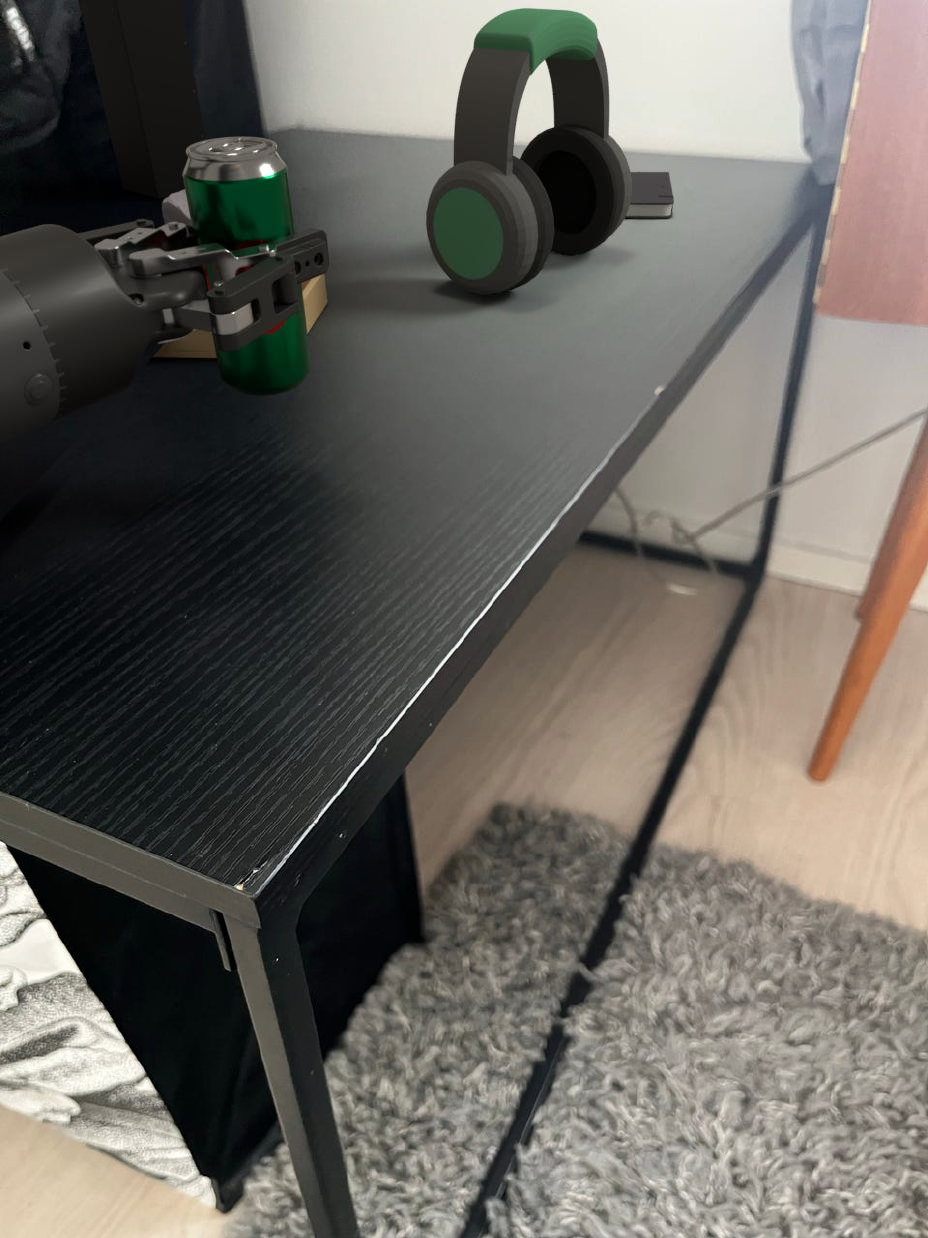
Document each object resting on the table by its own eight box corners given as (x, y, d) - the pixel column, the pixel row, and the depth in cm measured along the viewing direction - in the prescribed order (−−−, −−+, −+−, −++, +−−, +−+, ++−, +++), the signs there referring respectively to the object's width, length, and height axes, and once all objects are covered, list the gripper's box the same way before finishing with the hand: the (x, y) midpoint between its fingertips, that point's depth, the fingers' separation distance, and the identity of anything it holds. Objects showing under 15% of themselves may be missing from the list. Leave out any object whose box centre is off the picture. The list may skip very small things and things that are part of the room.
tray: (112, 356, 72) (102, 321, 71) (168, 299, 82) (161, 268, 80) (290, 360, 71) (285, 325, 69) (327, 302, 80) (324, 270, 79)
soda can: (331, 373, 53) (306, 141, 46) (270, 407, 50) (232, 162, 42) (265, 355, 55) (230, 130, 48) (202, 386, 52) (155, 150, 45)
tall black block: (158, 200, 108) (91, -109, 90) (121, 189, 112) (51, -107, 94) (215, 186, 112) (162, -111, 95) (178, 176, 116) (120, -110, 99)
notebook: (667, 186, 107) (481, 185, 109) (669, 171, 106) (481, 171, 108) (672, 218, 97) (468, 217, 99) (674, 202, 96) (468, 201, 98)
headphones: (522, 314, 77) (526, 28, 64) (419, 289, 82) (404, 20, 70) (635, 252, 89) (657, 0, 76) (539, 234, 94) (545, -5, 81)
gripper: (73, 286, 34) (381, 182, 44) (-128, 221, 40) (181, 145, 51) (124, 470, 38) (391, 336, 49) (-64, 384, 45) (207, 283, 56)
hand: (283, 239), depth 50 cm, fingers closed on soda can, 5 cm apart
